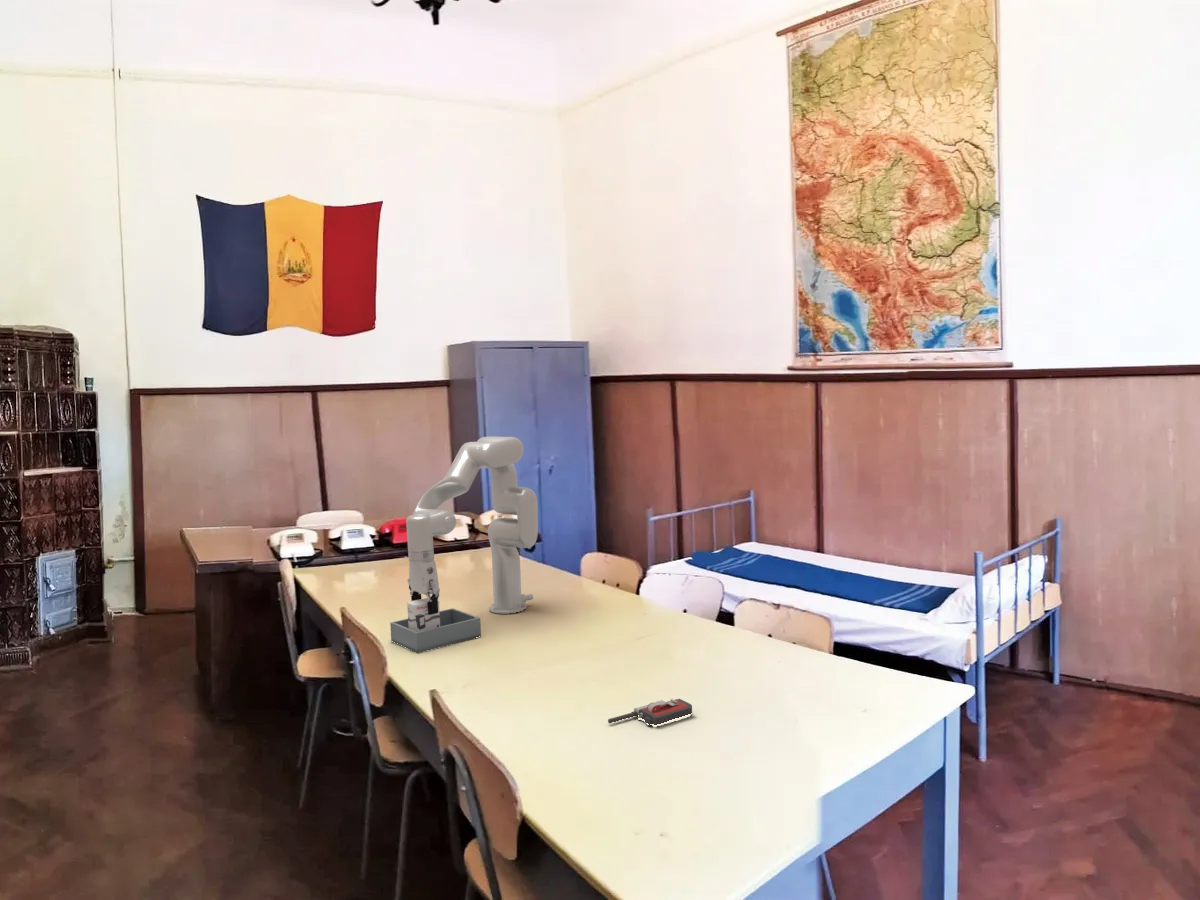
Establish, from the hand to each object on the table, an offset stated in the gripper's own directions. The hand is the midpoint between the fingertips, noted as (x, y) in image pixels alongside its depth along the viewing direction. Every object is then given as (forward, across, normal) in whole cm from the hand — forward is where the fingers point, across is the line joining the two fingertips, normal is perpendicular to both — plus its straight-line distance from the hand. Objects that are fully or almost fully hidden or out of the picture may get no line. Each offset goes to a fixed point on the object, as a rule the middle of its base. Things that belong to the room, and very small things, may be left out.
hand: (425, 610), depth 264 cm
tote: (+10, 0, -3) cm, 10 cm away
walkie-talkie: (+10, -91, -7) cm, 92 cm away
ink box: (+9, 0, +1) cm, 9 cm away
